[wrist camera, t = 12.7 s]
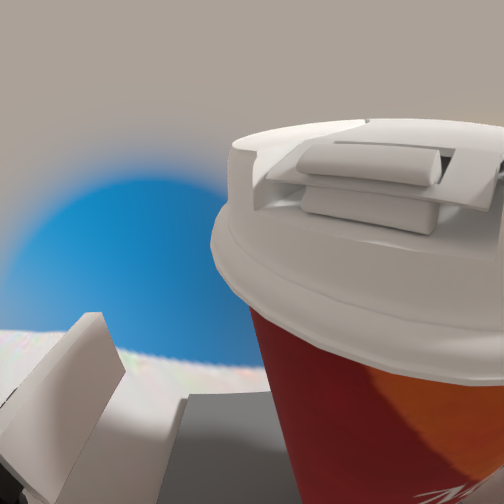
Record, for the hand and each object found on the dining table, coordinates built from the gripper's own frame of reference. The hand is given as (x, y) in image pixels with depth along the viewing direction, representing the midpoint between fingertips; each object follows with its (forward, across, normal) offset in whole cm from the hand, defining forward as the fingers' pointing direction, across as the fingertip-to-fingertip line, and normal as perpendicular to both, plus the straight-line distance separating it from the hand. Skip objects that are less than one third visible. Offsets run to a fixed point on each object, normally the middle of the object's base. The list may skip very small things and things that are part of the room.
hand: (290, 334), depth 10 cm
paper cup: (-2, +3, -8) cm, 9 cm away
